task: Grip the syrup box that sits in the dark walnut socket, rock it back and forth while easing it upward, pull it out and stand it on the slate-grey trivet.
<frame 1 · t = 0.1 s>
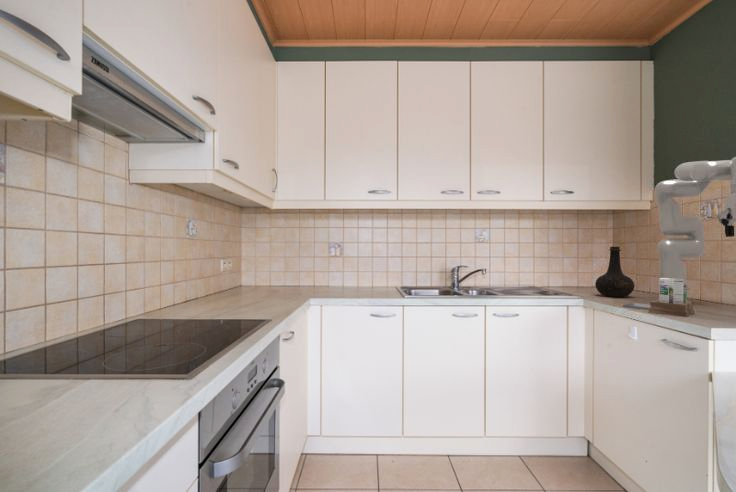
socket: (671, 312, 147), on the countertop
glass bottle: (614, 296, 197), on the countertop
trivet: (641, 307, 161), on the countertop
syrup box: (671, 313, 147), resting in socket
food container: (678, 307, 162), on the countertop, touching arm
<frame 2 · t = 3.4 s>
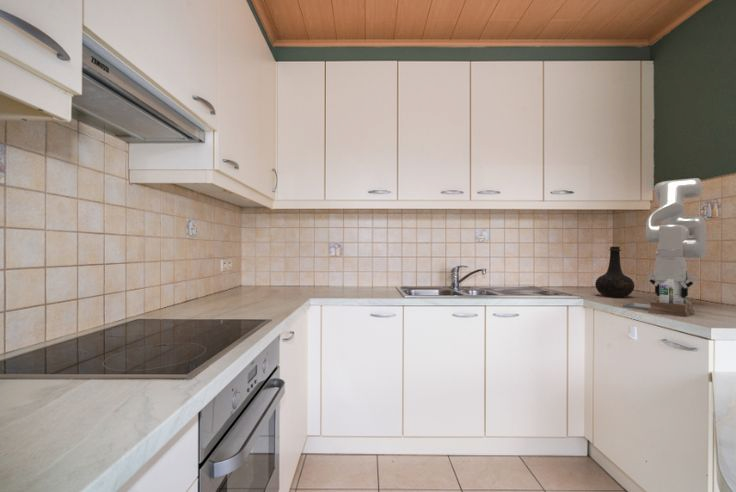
hand: (671, 296, 147), 7 cm above the countertop, tool pointing down, fingers closed on syrup box, 7 cm apart
syrup box: (671, 313, 147), resting in socket, touching gripper
everything else where it was.
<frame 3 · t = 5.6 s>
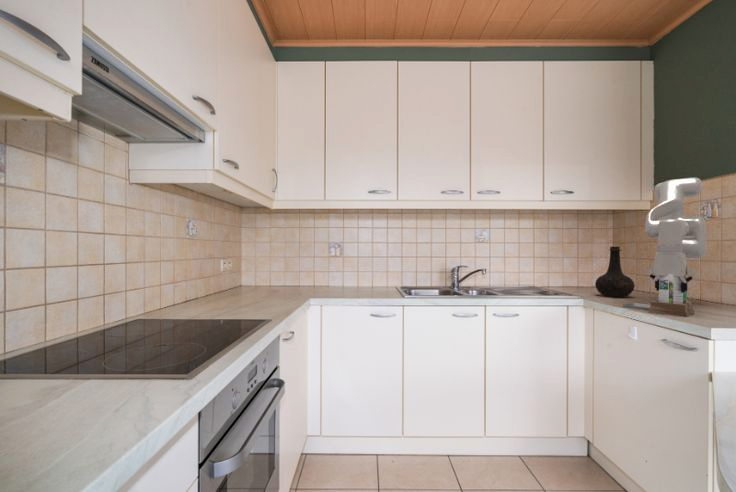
hand: (670, 291, 147), 9 cm above the countertop, tool pointing down, fingers closed on syrup box, 7 cm apart
syrup box: (670, 308, 147), point 2 cm above the countertop, touching gripper
everything else where it was.
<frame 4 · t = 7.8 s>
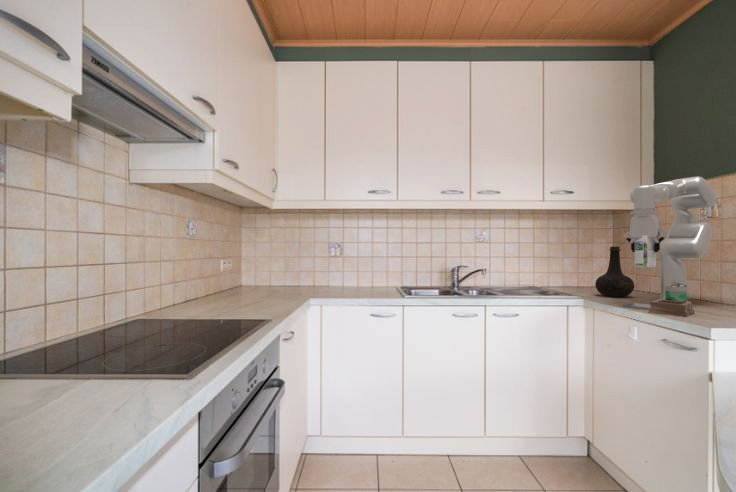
hand: (645, 251, 160), 25 cm above the countertop, tool pointing down, fingers closed on syrup box, 7 cm apart
syrup box: (645, 267, 159), point 18 cm above the countertop, touching gripper
everything else where it was.
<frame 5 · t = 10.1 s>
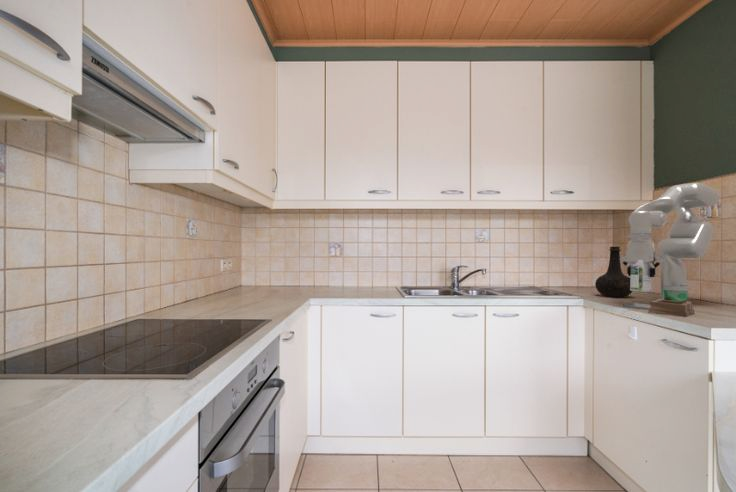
hand: (641, 276, 161), 14 cm above the countertop, tool pointing down, fingers closed on syrup box, 7 cm apart
syrup box: (640, 291, 161), point 7 cm above the countertop, touching gripper
food container: (679, 307, 160), on the countertop
everything else where it was.
when the fingers open (9 cm above the countertop, at t = 11.8 s): syrup box drops 1 cm, resting on trivet.
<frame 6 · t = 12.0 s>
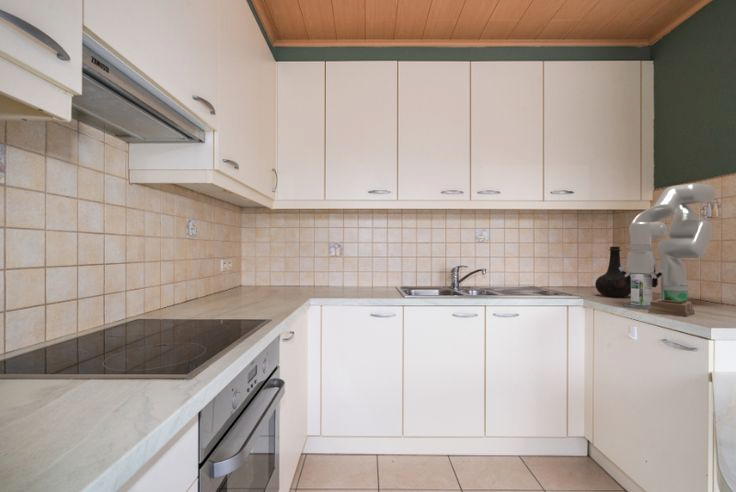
hand: (641, 286, 161), 10 cm above the countertop, tool pointing down, fingers open, 9 cm apart
syrup box: (641, 305, 161), point 1 cm above the countertop, touching trivet
everything else where it was.
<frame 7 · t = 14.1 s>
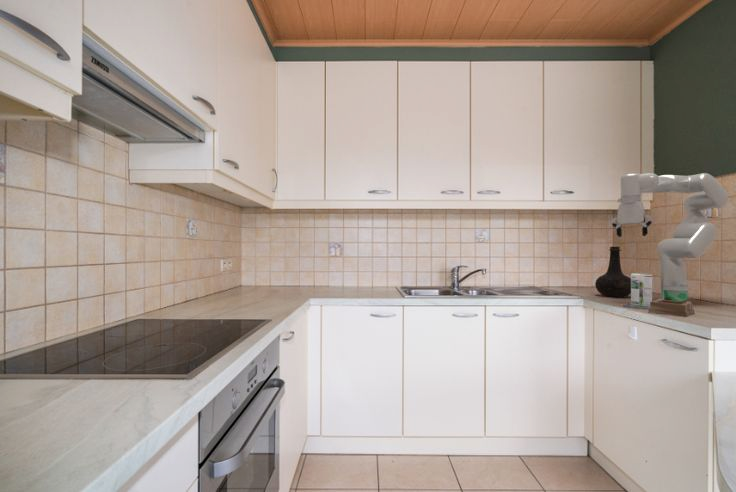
hand: (631, 236, 167), 33 cm above the countertop, tool pointing down, fingers open, 9 cm apart
nothing on the countertop moved.
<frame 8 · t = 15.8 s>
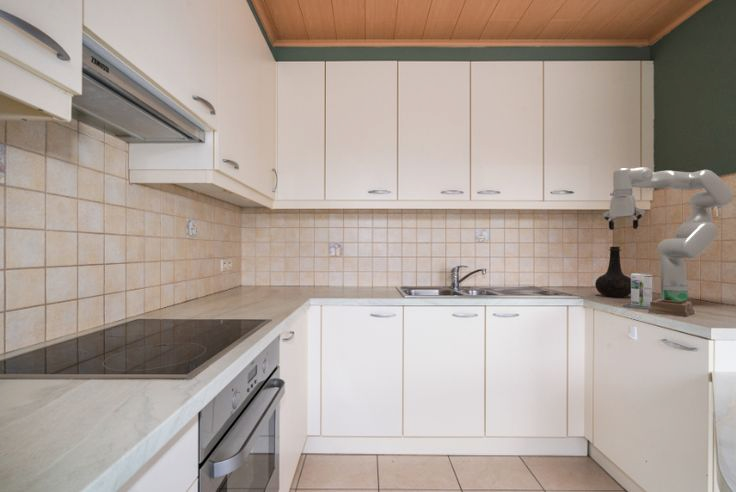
hand: (623, 229, 172), 36 cm above the countertop, tool pointing down, fingers open, 9 cm apart
nothing on the countertop moved.
at the end: syrup box inside the target area on the trivet (0.2 cm from its centre), point 0.6 cm above the trivet's base; syrup box tilted 0°; syrup box touching trivet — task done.
